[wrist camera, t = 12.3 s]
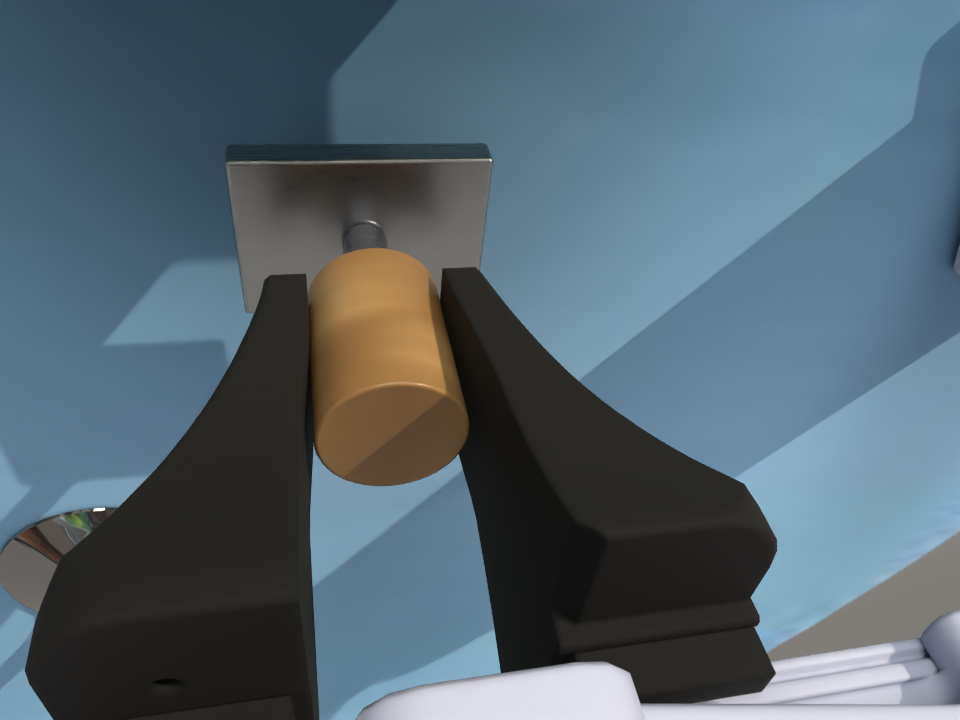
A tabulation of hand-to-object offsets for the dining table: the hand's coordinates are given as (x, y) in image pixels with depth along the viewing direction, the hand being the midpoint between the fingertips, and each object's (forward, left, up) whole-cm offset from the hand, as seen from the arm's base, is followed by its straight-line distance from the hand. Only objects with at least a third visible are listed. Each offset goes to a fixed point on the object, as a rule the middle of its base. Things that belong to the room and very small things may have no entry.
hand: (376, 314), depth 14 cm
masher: (0, 0, -3) cm, 3 cm away
